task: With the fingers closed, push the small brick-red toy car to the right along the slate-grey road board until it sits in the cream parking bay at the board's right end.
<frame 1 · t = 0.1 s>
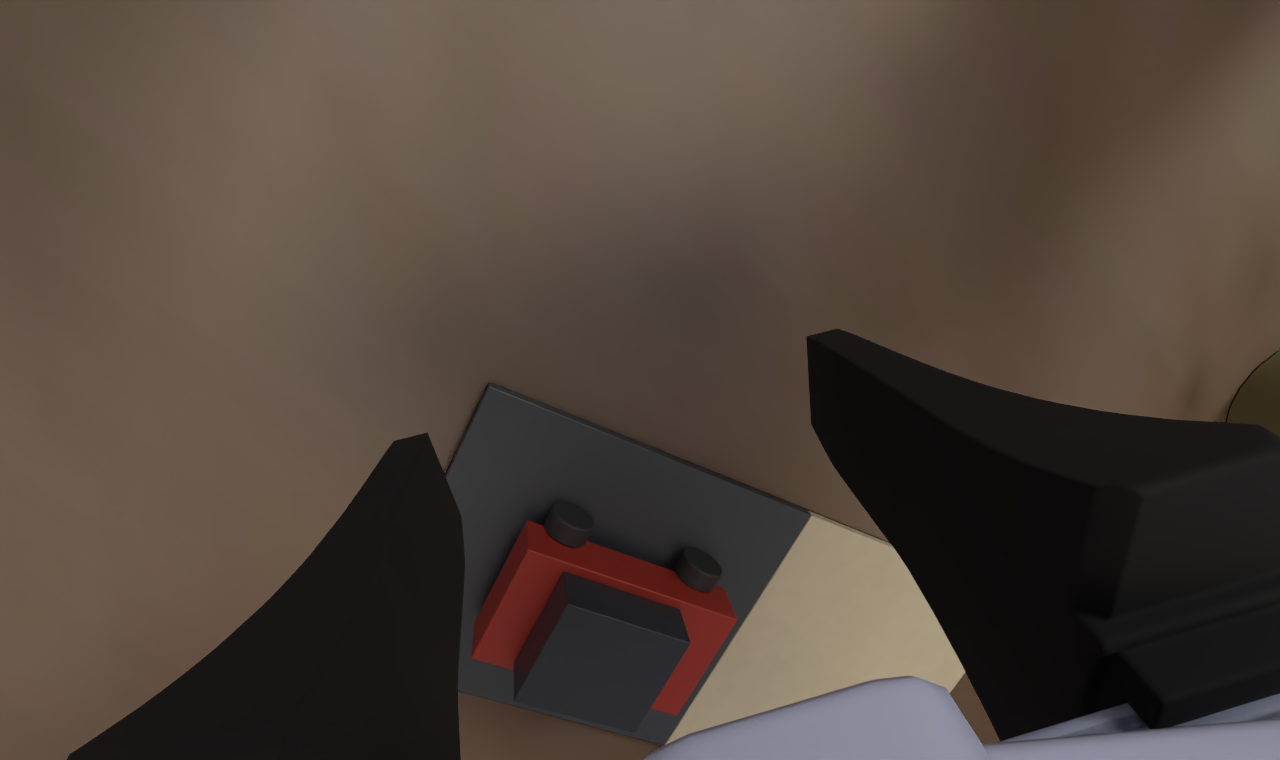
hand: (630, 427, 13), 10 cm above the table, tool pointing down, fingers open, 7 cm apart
toy car: (600, 593, 27), resting on road board
road board: (710, 623, 29), on the table
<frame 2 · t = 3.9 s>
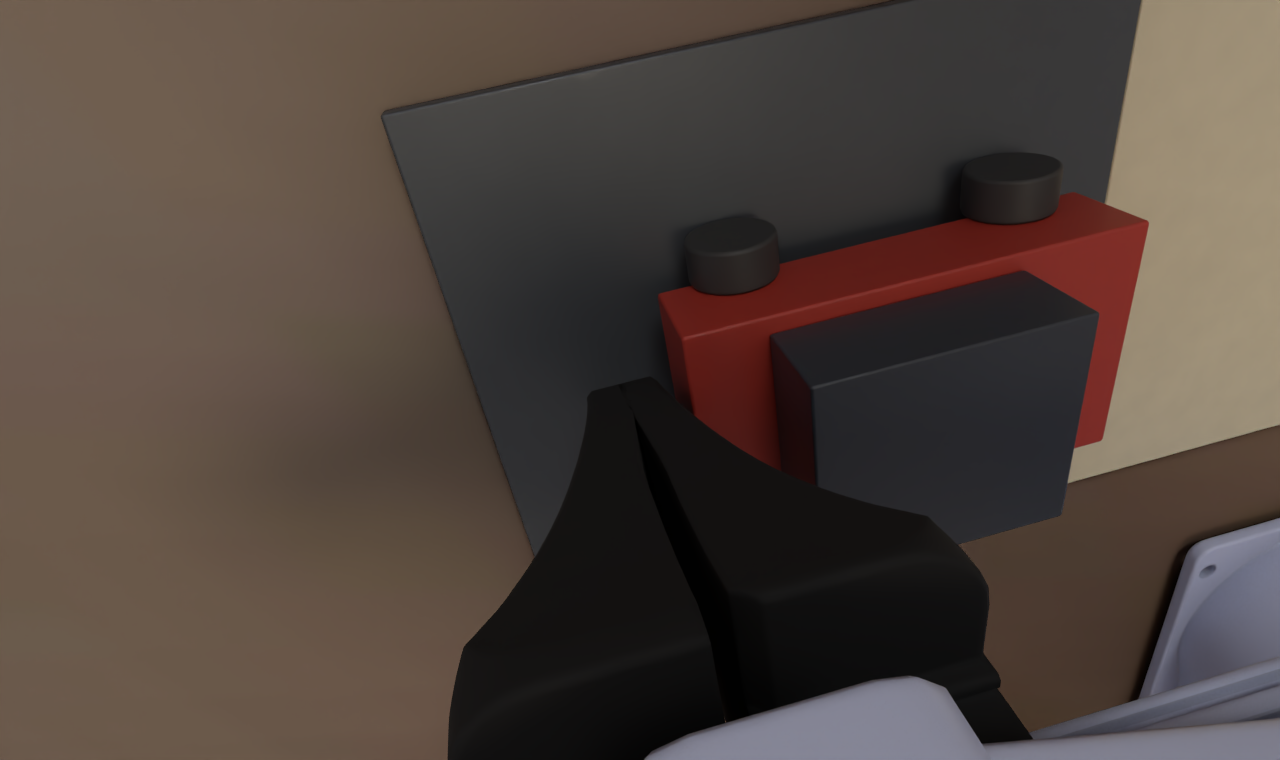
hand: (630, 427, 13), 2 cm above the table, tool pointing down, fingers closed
toy car: (854, 333, 15), resting on road board, touching gripper
road board: (1036, 278, 15), on the table
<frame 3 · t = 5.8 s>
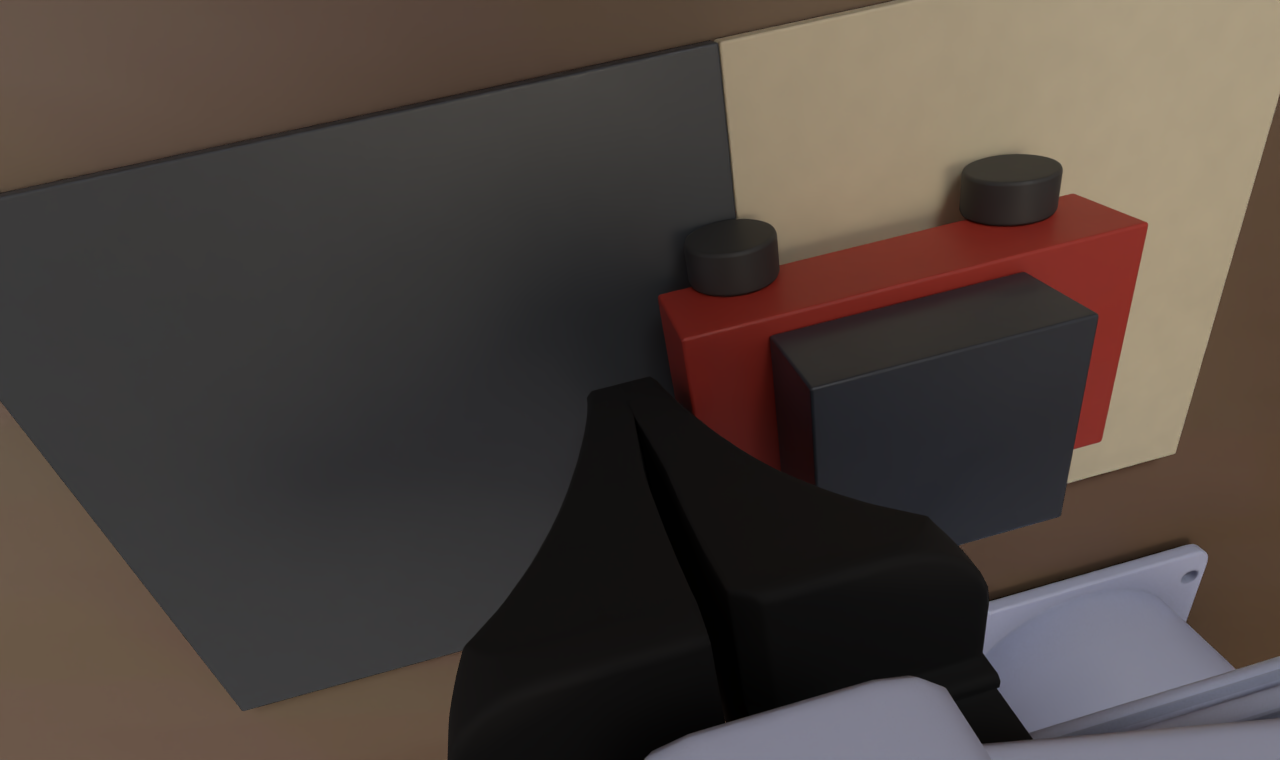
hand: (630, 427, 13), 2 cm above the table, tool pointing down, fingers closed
toy car: (854, 334, 15), resting on road board, touching gripper
road board: (699, 363, 15), on the table
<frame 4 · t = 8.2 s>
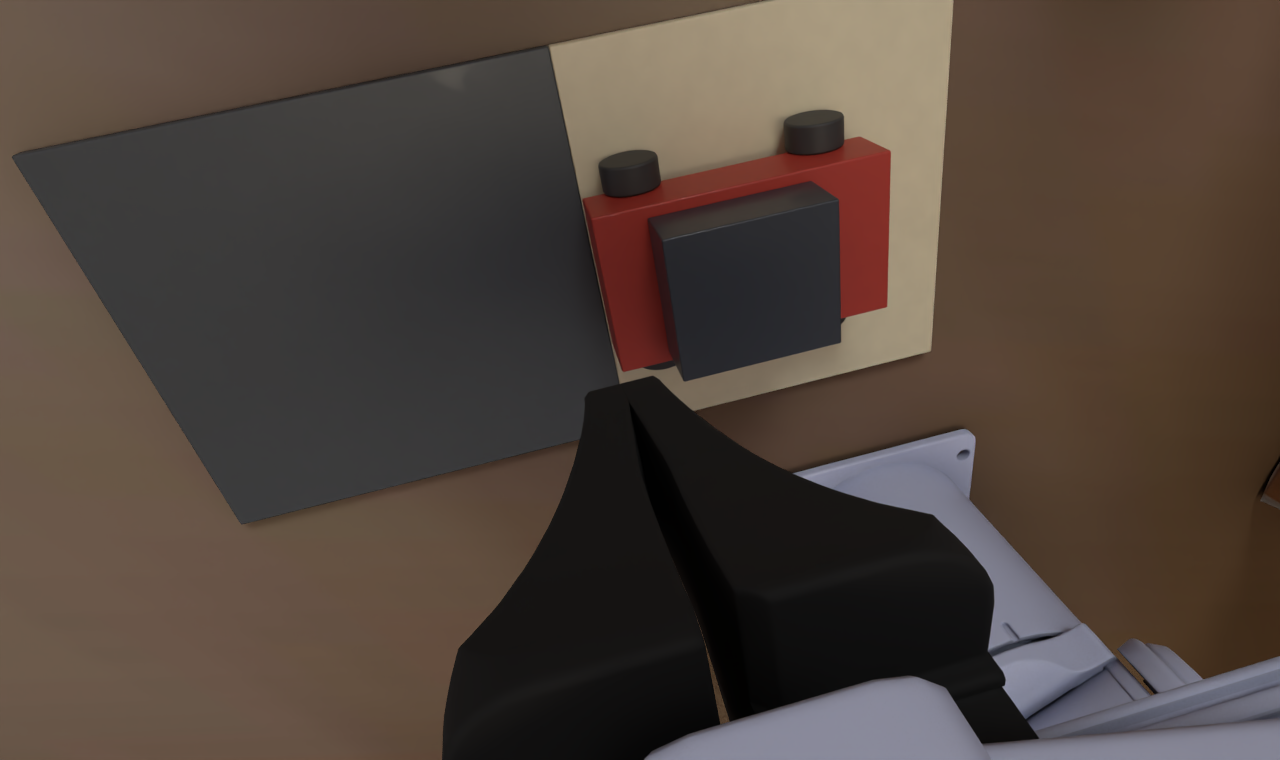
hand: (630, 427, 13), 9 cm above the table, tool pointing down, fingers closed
toy car: (724, 236, 22), resting on road board
road board: (560, 268, 21), on the table
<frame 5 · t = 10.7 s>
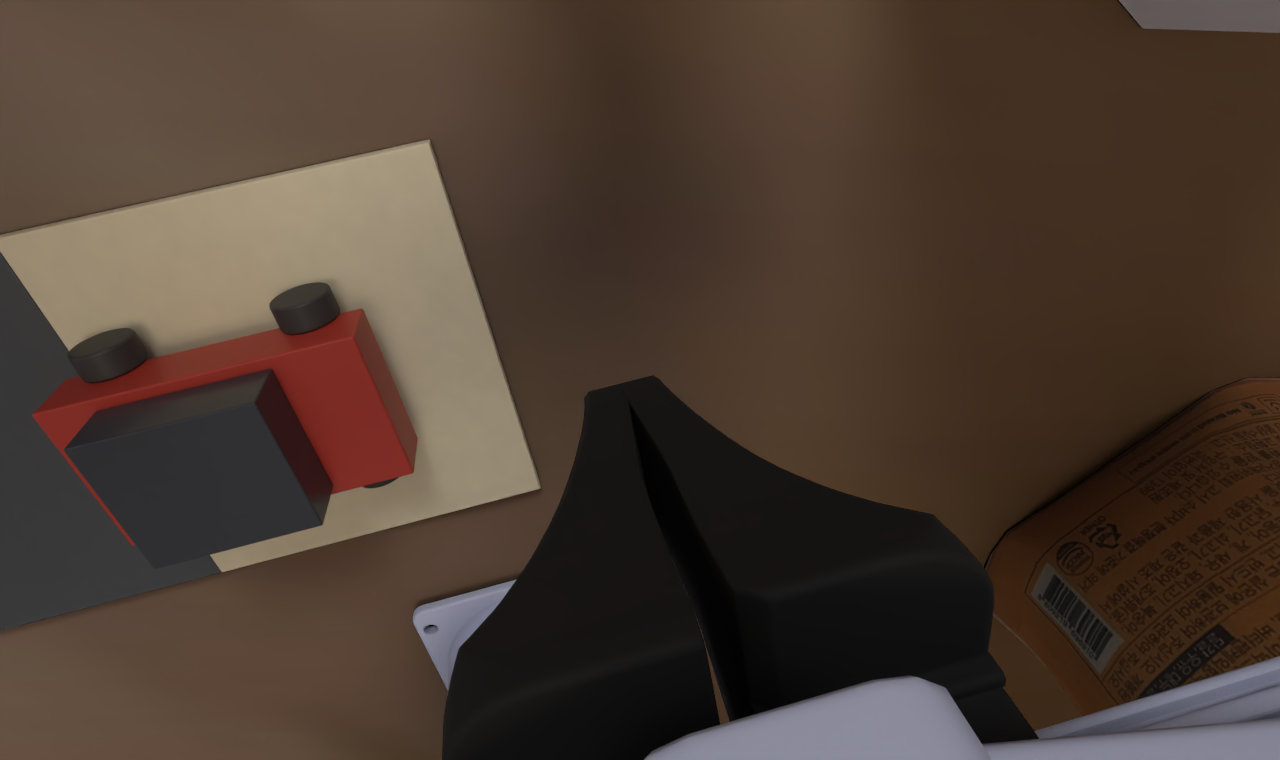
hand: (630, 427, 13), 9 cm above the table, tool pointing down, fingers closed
pancake mix bag: (1117, 477, 32), on the table
toy car: (261, 398, 21), resting on road board
road board: (94, 432, 21), on the table
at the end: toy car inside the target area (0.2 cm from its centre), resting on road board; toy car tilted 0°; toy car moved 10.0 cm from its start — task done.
